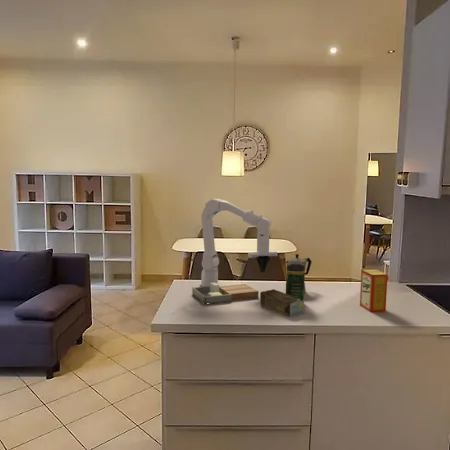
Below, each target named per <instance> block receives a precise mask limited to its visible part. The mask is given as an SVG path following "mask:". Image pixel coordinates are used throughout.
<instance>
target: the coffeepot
mask: <svg viewBox="0 0 450 450" xmlns="http://www.w3.org/2000/svg"><path fill="white" fill-rule="evenodd" d="M299 255H300V254H298V253H296V254H295V257H292V258H288V259H287V260H285V264H287V263H288V262H290V261H291V260H292V261H300V262H302V263H303V264H304V265H305V276H306V275H308V274H309V272H310V269H311V266H312V260H311V259H310V257H304V258H300V257H299ZM306 266H307V267H306ZM305 292H306V283H305V281H304V293H305Z"/></svg>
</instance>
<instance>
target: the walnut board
mask: <svg viewBox="0 0 450 450" xmlns="http://www.w3.org/2000/svg"><path fill="white" fill-rule="evenodd" d="M219 286H220V285H219ZM219 292H220V293H221V294H223V295H227V294H231V295H232V296H231V302H232V301H240V300H249V299H250V300H251V299H259V290H257V289H255V288H254V287H251V286H250V285H247V284H246V283H244V284H243V283H242V284H233V285H232V284H230V285H224V286H223V285H221V286H220V287H219Z"/></svg>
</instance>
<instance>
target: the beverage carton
mask: <svg viewBox="0 0 450 450" xmlns="http://www.w3.org/2000/svg"><path fill="white" fill-rule="evenodd" d="M259 300H260V303H259V305H260V306H262V307H265V308H266V309H270V310H272V311H274V312H277V313H279V314H282V315H284V316H287V317H289V318H293V317H295V316H300V315H304V311H305V307H304V306H305V305H304V304H305V300H301V299H298V298H296V297H293V296H291V295H288V294H286V292H283V291H280V290H276V289H268V290H264V291H260V295H259Z"/></svg>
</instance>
